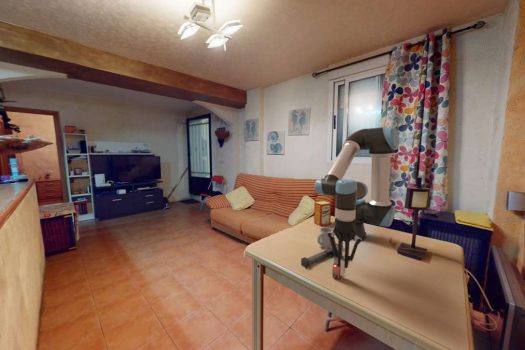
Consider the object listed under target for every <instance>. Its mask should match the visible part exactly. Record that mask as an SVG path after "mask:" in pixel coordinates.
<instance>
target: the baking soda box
mask: <svg viewBox="0 0 525 350" xmlns="http://www.w3.org/2000/svg"><path fill="white" fill-rule="evenodd" d="M313 210H314V213H313V224H314V223H315V224H314V225H316V224H317V225H316V226H318V225H319V227H323V226H324V225H325V226H328V225H331V221H332V220H331V218H332V217H331V216H332V215H331V214H332V203H331V202H328V201H325V200H323V201H317V202H314V209H313ZM325 226H324V227H325Z"/></svg>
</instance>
